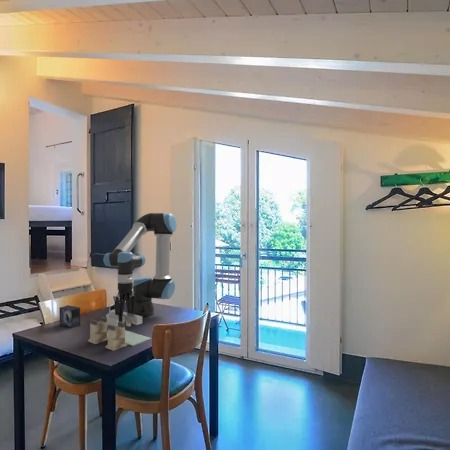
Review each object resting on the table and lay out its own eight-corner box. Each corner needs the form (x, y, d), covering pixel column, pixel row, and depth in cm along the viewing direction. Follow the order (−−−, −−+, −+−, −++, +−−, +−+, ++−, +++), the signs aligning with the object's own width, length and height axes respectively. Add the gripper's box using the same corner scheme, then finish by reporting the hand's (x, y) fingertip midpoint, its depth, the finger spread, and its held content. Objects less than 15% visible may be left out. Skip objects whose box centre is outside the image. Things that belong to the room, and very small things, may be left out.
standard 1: (101, 337, 183) (101, 316, 183) (109, 339, 180) (109, 318, 179) (88, 341, 176) (88, 319, 176) (95, 344, 173) (95, 322, 173)
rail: (109, 317, 187) (109, 310, 187) (114, 315, 190) (114, 309, 190) (136, 325, 175) (136, 318, 175) (142, 323, 178) (142, 316, 178)
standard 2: (119, 342, 175) (119, 321, 175) (127, 345, 172) (127, 323, 171) (105, 347, 168) (105, 325, 168) (113, 350, 165) (113, 327, 165)
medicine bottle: (123, 324, 204) (123, 303, 204) (116, 328, 197) (116, 306, 197) (113, 323, 206) (113, 302, 206) (105, 326, 199) (105, 305, 199)
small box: (58, 325, 201) (58, 307, 201) (68, 322, 207) (68, 304, 207) (71, 328, 196) (71, 309, 196) (80, 325, 202) (80, 307, 202)
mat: (118, 329, 195) (118, 328, 195) (151, 339, 180) (151, 338, 180) (99, 335, 186) (99, 334, 185) (132, 346, 171) (132, 345, 171)
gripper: (116, 285, 173) (116, 332, 174) (142, 280, 187) (142, 324, 187) (107, 283, 177) (107, 329, 178) (133, 278, 191) (132, 321, 192)
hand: (125, 326), depth 183 cm, fingers closed on rail, 3 cm apart
